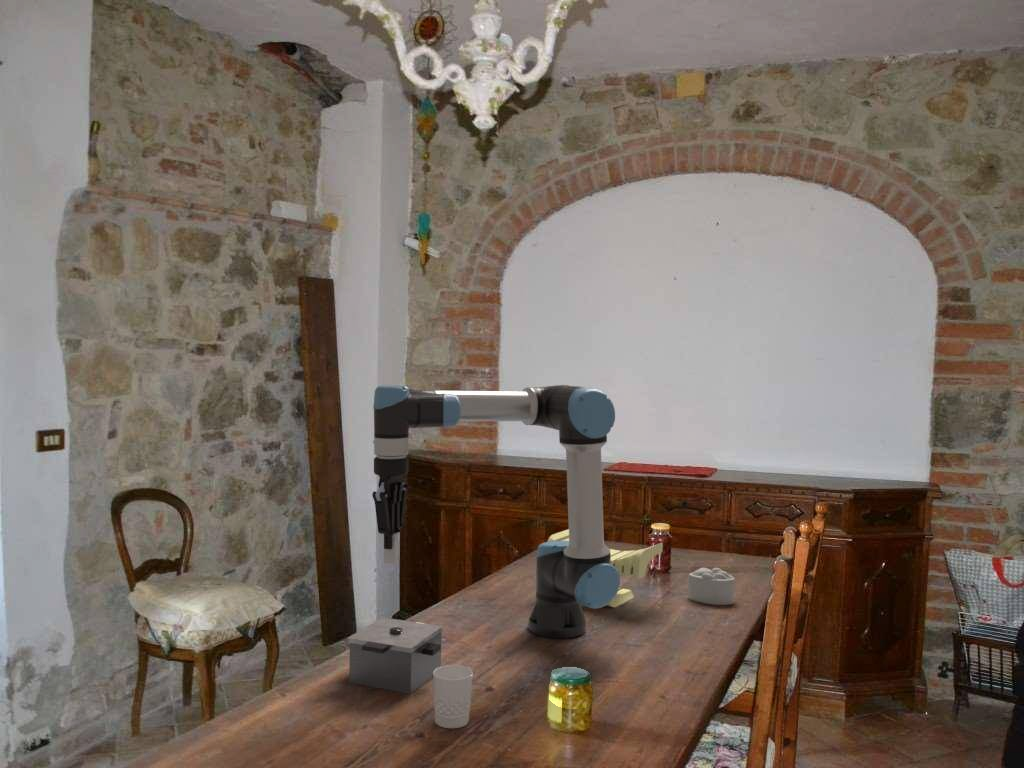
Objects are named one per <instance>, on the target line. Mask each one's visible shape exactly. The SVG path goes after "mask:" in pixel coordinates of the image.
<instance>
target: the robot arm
mask: <svg viewBox="0 0 1024 768" xmlns="http://www.w3.org/2000/svg"><path fill="white" fill-rule="evenodd" d="M372 408H373V429H374V430H373V441H372V443H373V453H374V455H375V457H374V458H373V473H374V474H375V475H376V476H378V477H379V479H378V490H377V491H373V492H372V494H371V495H372V499H373V502H374V507H375V513H376V514H375V516H376V517H375V518H376V524H377V532H378V533H379V534H381V535H383V564H390V565H391V564H392V565H395V564H398V563H399V557H398V556H399V551H398V550H399V533H403V529H402V528H403V526H404V523H405V522H404V521H405V513H406V502H407V494H408V491H409V487H410V486H409V485H410V484H409V483H405V482H404V476H405V475H407V474H408V473H409V457H408V456H407V455H409V450H410V447H409V446H410V445H409V439H410V437H409V435H410V434H409V429H417V428H418V429H419V428H445V427H454V426H456V425H457V424H458V423H459V422H522V424H524V425H525V426H536V427H537V426H539V427H545V428H548V429H553V430H556V431H558V435H559V436H558V438H559V444H560V446H562V447H563V448H564V449H565V456H566V457H565V459H566V483H567V484H566V488H567V489H566V490H567V513H568V514H567V517H568V519H567V520H568V529H569V541H552V542H547V541H545V542H543V543H539V544H538V546H537V551H536V557H535V559H536V574H535V575H536V576H535V579H536V581H535V584H536V585H535V599H534V603H533V605H532V608H531V611H530V614H529V617H528V625H527V626H528V630H529V631H530V632H531V633H533V634H535V635H538V636H540V637H545V638H553V639H569V638H575V637H578V636H581V635H583V634H584V633H586V630H587V621H586V617H585V612H584V610H583V607H587V608H590V609H601V608H604V607H607V606H606V605H607V604H609V603H610V602H611V601H612V599H613V597H615V596H616V594H617V592H618V590H619V588H620V586H621V585H620V584H621V576H620V575H619V572H618V571H617V569H616V568H615V567H614V566H613V565H611V556H610V549H611V548H609V547H608V546H607V545H606V544H605V539H604V538H605V535H604V534H605V533H604V528H605V527H604V500H603V497H604V496H603V472H602V470H603V469H602V467H603V466H602V448H603V447H604V446H605V445H606V443H608V442H607V441H608V436H607V435H608V434H609V433H610V432H611V429H612V428H613V427H614V426H615V425H614V424H615V422H616V410H615V406H614V403H613V402H612V400H611V398H610V397H609V396H608V395H607V394H606V393H604V391H601V390H599V389H596V388H593V387H589V386H578V385H576V386H575V385H568V384H567V385H566V384H562V385H561V384H560V385H559V384H558V385H549V386H538V387H537V386H536V387H532V386H531V387H525V388H523V389H522V390H519V391H518V390H517V391H516V390H459V389H458V390H453V389H452V390H451V389H450V390H448V389H447V390H446V389H445V390H442V389H441V390H439V389H438V390H437V389H432V390H431V389H413V388H409V387H408V386H406V385H398V384H397V385H395V384H394V385H392V384H391V385H389V384H388V385H387V384H386V385H380V386H377V387H376V388H375V389H374V397H373V407H372Z"/></svg>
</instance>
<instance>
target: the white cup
mask: <svg viewBox="0 0 1024 768" xmlns="http://www.w3.org/2000/svg"><path fill="white" fill-rule="evenodd" d="M473 676H474V672H473V670H472V669H471V668H469V667H467V666H465V665H461V664H460V665H459V664H448V665H447V664H446V665H441V667H438V668H436V669H435V670H434V671H433V677H432V682H433V685H432V687H433V689H432V690H433V692H432V693H433V708H434V723H435V725H437V726H438V727H441V728H445V729H458V728H459V729H460V728H462V727H465V726H466V725H468V723H469V720H470V709H471V703H472V689H473V679H474V678H473Z"/></svg>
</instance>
